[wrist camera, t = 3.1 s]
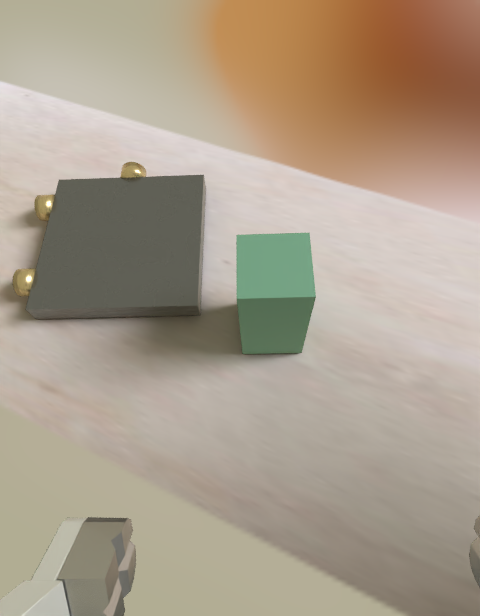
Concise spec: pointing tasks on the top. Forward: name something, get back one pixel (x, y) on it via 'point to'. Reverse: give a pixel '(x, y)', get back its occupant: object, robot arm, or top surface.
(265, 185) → the top surface
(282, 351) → the block
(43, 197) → the level base plate
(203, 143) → the top surface
